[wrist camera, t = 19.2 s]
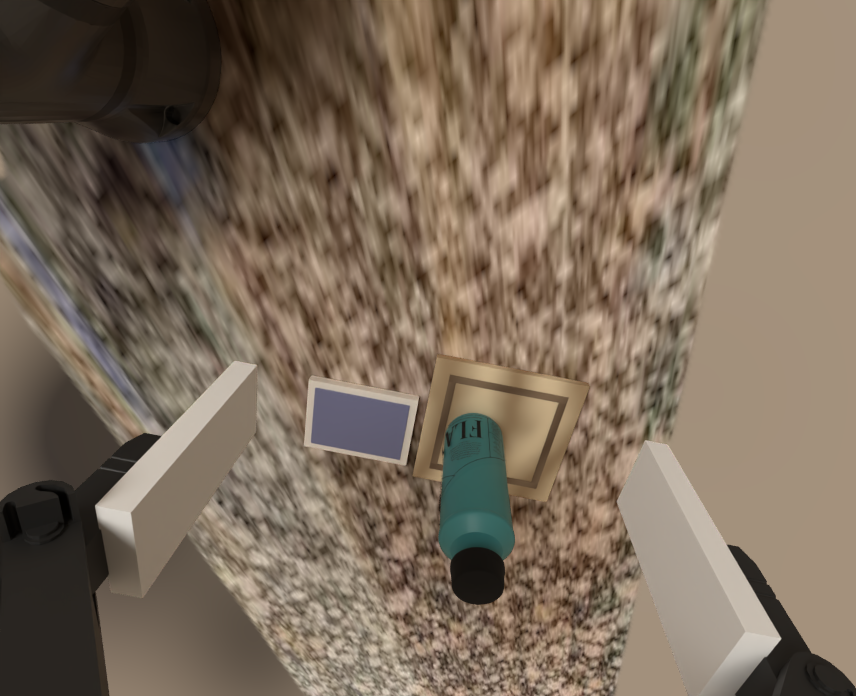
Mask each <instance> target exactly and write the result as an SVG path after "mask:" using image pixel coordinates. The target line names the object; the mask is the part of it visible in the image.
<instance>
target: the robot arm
mask: <svg viewBox="0 0 856 696" xmlns="http://www.w3.org/2000/svg"><path fill="white" fill-rule="evenodd" d="M220 73H221V51H220V43H219V37H218V33H217V28H216V25H215V22H214V19H213V16H212V13H211V10H210V8H209V6H208V3H207V1H206V0H0V124H34V123H67V122H75V123H78V124H80V125H82V126H85V127H87V128H89V129H92V130H94V131H96V132H99V133H101V134H104V135H106V136H108V137H111V138H114V139H117V140H122V141H126V142H133V143H152V142H162V141H168V140H172V139H176V138H178V137H181V136H183V135H185V134H186V133H188V132H190V131H191V130H192V129H194V128H195V127H196V126H197V125H198V124H199V123H200V122H201V121H202V120H203V119H204V117H205V116H206V114H207V113H208V111H209V110H210V108H211V106H212V104H213V102H214V99H215V97H216V93H217V90H218V86H219V81H220ZM256 410H257V365H255V364H249V363H244V362H239V361H234V362H233V363H232V364H231V365H230V366H229V367H228V368H227V369H226V370H225V371H224V372H223V373H222V374H221V375H220V376H219V377H218V378H217V379H216V380H215V382H214V383H213V384H212V385H211V386H210V387H209V388H208V389H207V390H206V391H205V392H204V393H203V394H202V395H201V396H200V397H199V398H198V399H197V400H196V401H195V402H194V403H193V404H192V405H191V406H190V407H189V409H188V410H187V411H186V412H185V413H184V414H183V415H182V416H181V417H180V418H179V419H178V420H177V421H176V422H175V423H174V424H173V425H172V426H171V427H170V428H169V429H168V430H167V431H166V432H165V433H164V434H163V436H158V435H153V434H147V433H143V434H142V435H140V436H138V437H136V438H134V439H132V440H130V441H128V442H126V443H125V444H124V445H123V446H121V447H120V448H119V449H118V450H117V451H116V452H115V453H114V454H113V455H112V457H111V459H108V460H107V461H106V462H105V463H104V464H102V465H101V467H100V469H97V470H96V471H95V472H94V473H93V474H92V475H91V476H90V477H89V478H88V479H87V480H86V481H85V482H84V483H82V484H81V485H80V486H79V487H78V488H77V489H76V490H75V491H74V489H73V487H72V486H71V485H69V484H67V483H65V482H62V481H53V480H49V481H42V482H35V483H32V484H29V485H26V486H23V487H20V488H18V489H17V490H15V491H13V492H12V493H10V494H8V495H7V496H6V497H5V498H4V499H3V500H1V502H0V696H109V689H108V681H107V674H106V666H105V658H104V650H103V643H102V635H101V627H100V619H99V612H98V604H97V597H96V592H95V591H96V590H97V589H98V588H99V586H100V585H101V584H102V582H103V581H104V580H105V579H106V577H107V576H108V581H109V586H110V591H111V592H112V593H118V594H123V595H128V596H133V597H138V598H143V597H144V596H145V594H146V593H147V591H148V590H149V588H150V587H151V585H152V584H153V582H154V581H155V579H156V578H157V576H158V575H159V573H160V572H161V571H162V569H163V568H164V566H165V565H166V563H167V562H168V560H169V559H170V557H171V556H172V554H173V553H174V551H175V550H176V549H177V547H178V546H179V544H180V543H181V541H182V540H183V538H184V537H185V535H186V534H187V532H188V531H189V530H190V528H191V527H192V525H193V524H194V522H195V521H196V519H197V518H198V516H199V515H200V513H201V512H202V510H203V509H204V508H205V506H206V505H207V503H208V502H209V500H210V499H211V497H212V496H213V494H214V493H215V491H216V490H217V488H218V487H219V486H220V484H221V483H222V481H223V480H224V478H225V477H226V475H227V474H228V472H229V471H230V469H231V468H232V466H233V465H234V463H235V462H236V461H237V459H238V458H239V456H240V455H241V453H242V452H243V450H244V449H245V447H246V446H247V444H248V443H249V441H250V440H251V439H252V437H253V436H254V434H255V433H256ZM617 503H618V506H619V509H620V512H621V514H622V517H623V520H624V523H625V525H626V528H627V531H628V533H629V536H630V539H631V542H632V544H633V547H634V550H635V552H636V555H637V558H638V561H639V563H640V566H641V569H642V571H643V574H644V577H645V580H646V582H647V585H648V588H649V590H650V593H651V596H652V599H653V601H654V604H655V607H656V609H657V612H658V615H659V618H660V620H661V623H662V626H663V628H664V631H665V634H666V636H667V639H668V642H669V645H670V647H671V650H672V653H673V656H674V658H675V661H676V664H677V666H678V669H679V672H680V674H681V677H682V680H683V683H684V685H685V688H686V691H687V694H688V696H856V688H855V686H854V685H853V684H852V683H851V681H850V680H849V679H848V678H847V677H846V676H845V675H844V674H843V673H842V672H841V671H840V670H838V669H837V668H836V667H835V666H834V665H832V664H831V663H830V662H828V661H827V660H825V659H823V658H821V657H819V656H818V655H815V654H812V653H811V651H810V650H809V648H808V647H807V645H806V643H805V642H804V640H803V639H802V637H801V635H800V634H799V632H798V631H797V629H796V627H795V626H794V624H793V623H792V621H791V619H790V618H789V616H788V615H787V613H786V611H785V610H784V608H783V607H782V605H781V603H780V602H779V600H777V599H776V596H775V594H774V592H773V591H772V589H771V587H770V586H769V585H767V583H766V582H767V581H766V579H765V578H764V576H763V575H762V573H761V571H760V570H759V568H758V567H757V565H756V564H755V563H754V562H753V561H752V560H751V559H750V558H749V557H748V556H747V555H746V554H745V553H744V552H743V551H742V550H741V549H740V548H739V547H737V546H732V545H727V544H726V543H725V541H724V540H723V538H722V536H721V534H720V533H719V531H718V529H717V528H716V526H715V524H714V523H713V521H712V519H711V517H710V516H709V514H708V512H707V511H706V509H705V507H704V505H703V504H702V502H701V500H700V499H699V497H698V495H697V493H696V492H695V490H694V488H693V487H692V485H691V483H690V482H689V480H688V478H687V476H686V475H685V473H684V471H683V470H682V468H681V466H680V464H679V463H678V461H677V459H676V458H675V456H674V454H673V452H672V451H671V449H670V447H669V446H668V444H663V443H657V442H652V441H647V440H645V442H644V444H643V446H642V448H641V450H640V453H639V455H638V457H637V459H636V461H635V463H634V466H633V468H632V470H631V472H630V474H629V476H628V478H627V481H626V483H625V485H624V487H623V489H622V491H621V494H620V496H619V498H618V500H617Z"/></svg>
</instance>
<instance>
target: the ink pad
mask: <svg viewBox="0 0 856 696" xmlns="http://www.w3.org/2000/svg"><path fill="white" fill-rule="evenodd" d="M418 401H419V396H416V395H411V394H406V393H401V392H396V391H391V390H385V389H380V388H375V387H370V386H365V385H360V384H355V383H349V382H344V381H339V380H334V379H329V378H324V377H318V376H313V375H311V377H310V379H309V384H308V398H307V411H306V425H305V439H304V446H307V447H312V448H317V449H322V450H327V451H332V452H338V453H343V454H348V455H353V456H358V457H363V458H369V459H374V460H379V461H384V462H389V463H394V464H400V465H405V466H406V463H407V458H408V452H409V447H410V442H411V437H412V432H413V427H414V422H415V416H416V411H417V406H418Z"/></svg>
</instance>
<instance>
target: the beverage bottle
mask: <svg viewBox="0 0 856 696" xmlns="http://www.w3.org/2000/svg"><path fill="white" fill-rule="evenodd" d="M499 427H500V426H499V425H498V424H497V423H496V422H495V421H494V420H493V419H491V418H490V417H488V416H486V415H483V414H479V413H467V414H463V415H461V416H458V417H457V418H455V419H454V420H453V421H452V422H451V423H450V424H449V425H448V428H447V430H446V433H445V440H444V442H443V443H444V444H443V445H444V447H443V448H444V451H443V448H442V458H443V454H444V458H443V459H442V463H443V475H441V477H442V478H441V479H442V482H441V481H440V482H441V485H442V493H441V494H440V499H441V501H440V499H439V501H440V502H441V504H440V505H441V510H439V511H440V524H439V525H440V530H439V544H440V547H441V549H442V551H443V552H444V554H445V555H446V556H447V557H448V558H449V559H451V565H450V572H451V581H452V589H453V591H454V593H455V595H456V596H457V597H458V598H459V599H461V600H462V601H464V602H467V603H470V604H476V605H481V604H488V603H491V602H493V601H495V600H497V599H498V598H499V597H500V596H501V595H502V593H503V590H504V575H505V567H504V562H503V560H504V559H505V558H507V557H508V555H509V554H510V553H511V551H512V550H513V547H514V543H515V535H514V531H513V526H512V517H511V509H510V501H509V492H508V483H507V473H506V463H507V462H506V463H505V461H506V460H505V458H506V457H505V455H506V454H504V446H505V445H504V444H503V436H502V432H501V430H500V429H501V428H499ZM443 436H444V435H443ZM441 468H442V467H441ZM441 472H442V471H441ZM507 472H508V471H507ZM441 474H442V473H441ZM440 489H441V486H440ZM440 502H439V503H440ZM440 505H439V509H440ZM438 518H439V517H438Z"/></svg>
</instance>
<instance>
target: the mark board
mask: <svg viewBox="0 0 856 696" xmlns="http://www.w3.org/2000/svg"><path fill="white" fill-rule="evenodd" d="M589 388H590V386H589V384H588V383H586V382H581V381H576V380H570V379H565V378H560V377H555V376H550V375H545V374H539V373H534V372H529V371H524V370H519V369H514V368H508V367H503V366H498V365H493V364H488V363H483V362H477V361H472V360H467V359H462V358H457V357H452V356H446V355H441V354H437V358H436V363H435V368H434V373H433V378H432V383H431V388H430V393H429V397H428V402H427V407H426V412H425V417H424V422H423V427H422V432H421V437H420V441H419V446H418V451H417V456H416V461H415V466H414V471H413V476H415V477H420V478H425V479H430V480H435V481H441V482H442V479H441V478H442V477H441V475H443V463H442V459H443V458H444V454H443V458H442V448H443V447H444V445H443V444H444V443H443V442H444V440H445V433H446V430H447V428H448V425H449V424H450V423H451V422H452V421H453V420H454V419H455V418H457V417H458V416H461V415H463V414H467V413H479V414H483V415H486V416H488V417H490V418H491V419H493V420H494V421H495V422H496V423H497V424H498V425H499V426H500V427H499V428H501V429H500V430H501V432H502V436H503V444H504V445H505V446H504V454H506V455H505V457H506V458H505V460H506V461H505V463H506V462H507V463H506V473H507V483H508V492H509V495H513V496H518V497H523V498H528V499H533V500H538V501H544V502H547V499H548V497H549V494H550V491H551V489H552V486H553V483H554V481H555V478H556V475H557V473H558V470H559V467H560V465H561V462H562V459H563V457H564V454H565V451H566V449H567V446H568V443H569V441H570V438H571V435H572V433H573V430H574V427H575V425H576V422H577V420H578V417H579V414H580V412H581V409H582V406H583V404H584V401H585V398H586V396H587V393H588V390H589ZM443 435H444V436H443ZM443 451H444V448H443ZM441 467H442V468H441ZM441 471H442V472H441ZM507 471H508V472H507ZM441 473H442V474H441Z"/></svg>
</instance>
